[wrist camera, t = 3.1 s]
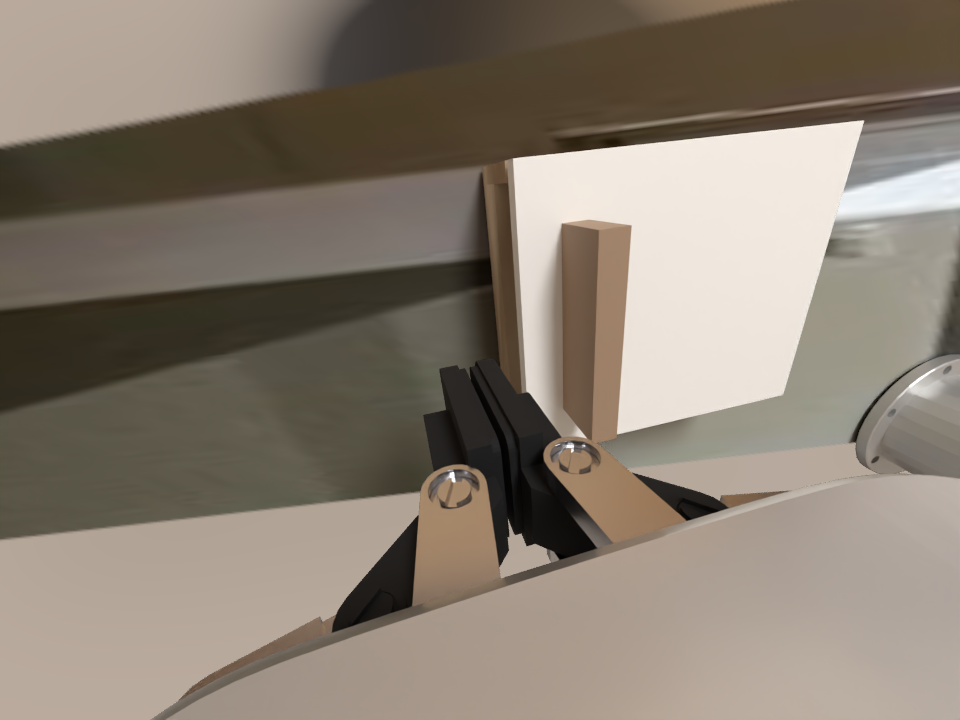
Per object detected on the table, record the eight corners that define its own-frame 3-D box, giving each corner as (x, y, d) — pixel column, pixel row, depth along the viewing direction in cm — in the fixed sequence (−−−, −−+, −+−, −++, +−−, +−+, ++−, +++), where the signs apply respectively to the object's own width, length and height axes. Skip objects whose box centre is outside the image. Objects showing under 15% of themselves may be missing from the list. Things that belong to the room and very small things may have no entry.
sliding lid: (844, 123, 17) (958, 106, 13) (770, 388, 23) (837, 422, 19) (507, 160, 14) (543, 150, 11) (525, 446, 20) (552, 496, 17)
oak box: (759, 136, 21) (836, 124, 17) (716, 360, 27) (766, 386, 23) (482, 166, 18) (504, 160, 15) (503, 406, 24) (523, 442, 21)
